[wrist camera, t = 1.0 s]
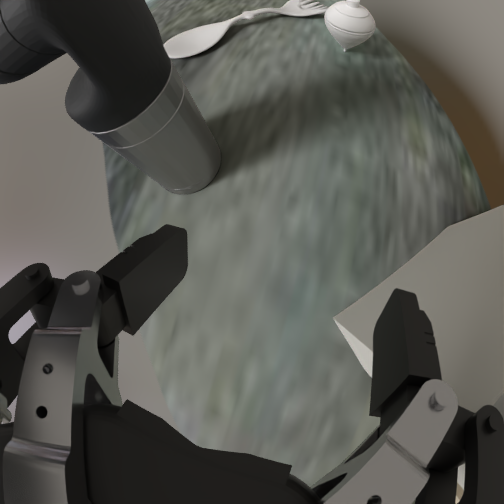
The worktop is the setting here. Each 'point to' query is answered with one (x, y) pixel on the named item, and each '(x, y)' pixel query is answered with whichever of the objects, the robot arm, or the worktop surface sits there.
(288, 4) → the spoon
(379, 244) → the worktop surface
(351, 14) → the spinning top
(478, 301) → the white upright box
